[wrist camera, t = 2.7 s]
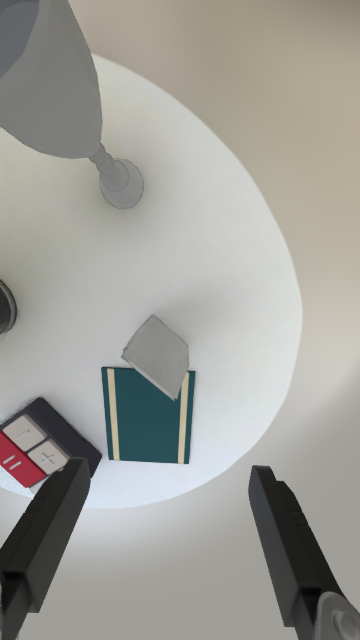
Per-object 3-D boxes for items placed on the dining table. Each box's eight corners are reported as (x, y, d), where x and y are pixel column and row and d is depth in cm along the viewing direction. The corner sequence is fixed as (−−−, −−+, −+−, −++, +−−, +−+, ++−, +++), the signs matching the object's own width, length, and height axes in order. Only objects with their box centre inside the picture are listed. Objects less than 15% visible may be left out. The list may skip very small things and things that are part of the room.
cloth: (109, 457, 34) (108, 460, 34) (102, 366, 29) (101, 368, 29) (188, 462, 34) (188, 464, 34) (194, 371, 29) (195, 373, 29)
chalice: (161, 203, 23) (90, 17, 6) (111, 228, 24) (-81, 135, 7) (132, 134, 21) (-99, -448, 4) (80, 164, 22) (-300, -199, 5)
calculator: (21, 412, 27) (91, 482, 30) (43, 393, 31) (103, 456, 34) (-27, 446, 29) (42, 509, 32) (0, 424, 33) (59, 482, 36)
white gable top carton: (153, 313, 27) (135, 341, 17) (188, 345, 28) (189, 388, 18) (136, 332, 28) (109, 368, 18) (170, 362, 29) (163, 411, 19)
